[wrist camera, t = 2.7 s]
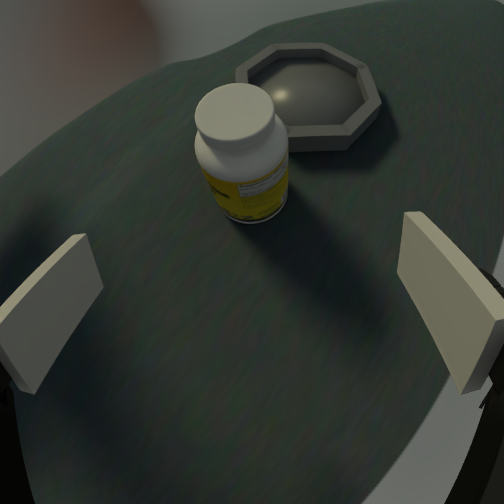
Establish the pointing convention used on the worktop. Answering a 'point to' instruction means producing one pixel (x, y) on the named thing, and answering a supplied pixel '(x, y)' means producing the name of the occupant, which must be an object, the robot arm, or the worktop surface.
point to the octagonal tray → (315, 93)
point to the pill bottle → (243, 151)
